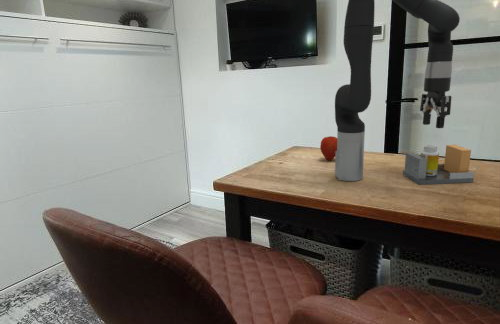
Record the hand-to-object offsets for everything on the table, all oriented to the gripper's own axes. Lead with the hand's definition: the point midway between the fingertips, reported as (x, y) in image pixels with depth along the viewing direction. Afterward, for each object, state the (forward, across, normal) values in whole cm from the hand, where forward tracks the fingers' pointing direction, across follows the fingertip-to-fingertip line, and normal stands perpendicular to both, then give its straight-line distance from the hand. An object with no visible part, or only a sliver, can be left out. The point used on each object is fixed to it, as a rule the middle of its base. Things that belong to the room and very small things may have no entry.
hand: (432, 126), depth 113 cm
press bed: (+18, 0, -3) cm, 19 cm away
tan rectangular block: (+17, 0, -10) cm, 19 cm away
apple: (+19, +31, +27) cm, 45 cm away
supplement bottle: (+17, 0, 0) cm, 17 cm away
